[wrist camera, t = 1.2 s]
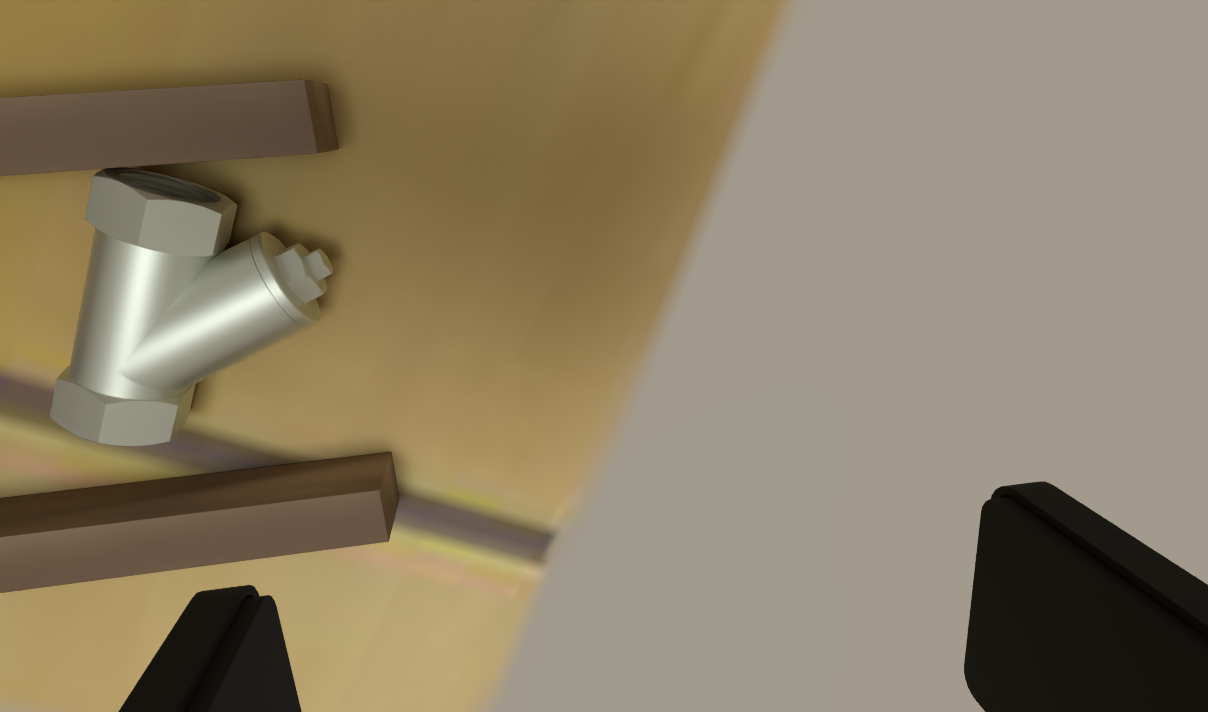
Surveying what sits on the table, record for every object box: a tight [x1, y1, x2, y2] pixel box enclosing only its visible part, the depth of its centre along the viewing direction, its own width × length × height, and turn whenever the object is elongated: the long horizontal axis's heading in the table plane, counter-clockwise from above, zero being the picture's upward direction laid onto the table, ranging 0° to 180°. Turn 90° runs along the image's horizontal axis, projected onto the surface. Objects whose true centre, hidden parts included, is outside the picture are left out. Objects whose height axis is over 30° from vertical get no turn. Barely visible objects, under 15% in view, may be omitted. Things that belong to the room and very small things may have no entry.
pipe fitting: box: [50, 167, 334, 446], centre depth 24 cm, size 8×4×7 cm
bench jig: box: [0, 80, 399, 593], centre depth 21 cm, size 17×19×7 cm
